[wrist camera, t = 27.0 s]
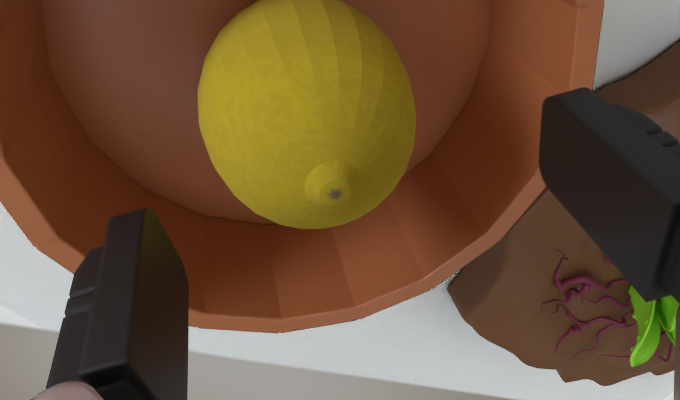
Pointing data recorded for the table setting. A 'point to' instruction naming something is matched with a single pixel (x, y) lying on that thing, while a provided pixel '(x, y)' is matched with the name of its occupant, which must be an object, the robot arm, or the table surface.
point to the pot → (212, 192)
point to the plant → (575, 275)
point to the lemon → (306, 111)
